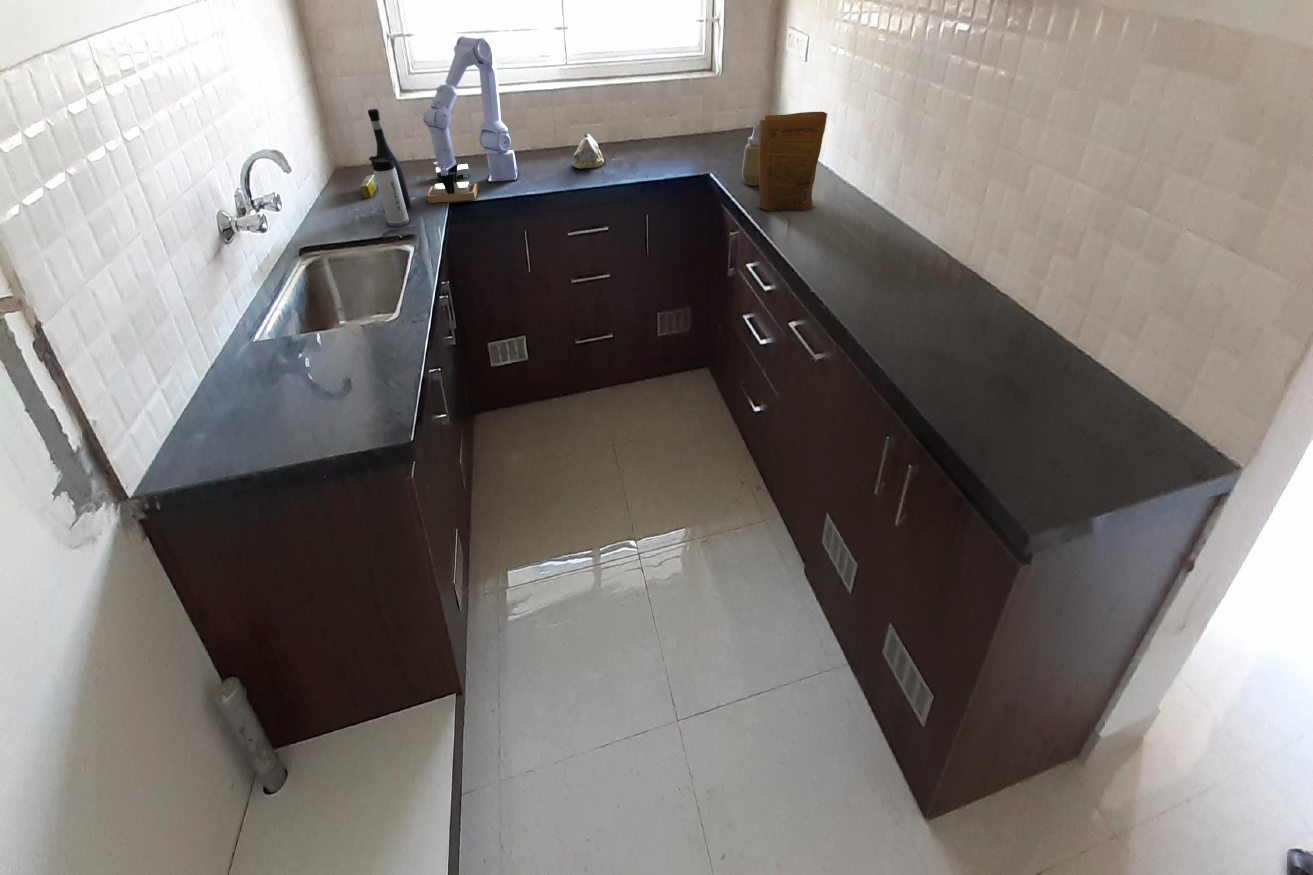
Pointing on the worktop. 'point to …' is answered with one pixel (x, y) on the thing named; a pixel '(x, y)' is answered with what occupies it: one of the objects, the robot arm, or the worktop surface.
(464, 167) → the sage green thick block
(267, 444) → the worktop surface
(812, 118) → the pancake mix bag
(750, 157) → the squeeze bottle
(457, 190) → the off-white rectangular slab
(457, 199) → the tray
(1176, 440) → the worktop surface
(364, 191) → the medication box
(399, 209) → the travel mug
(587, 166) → the ceramic model
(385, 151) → the wine bottle
